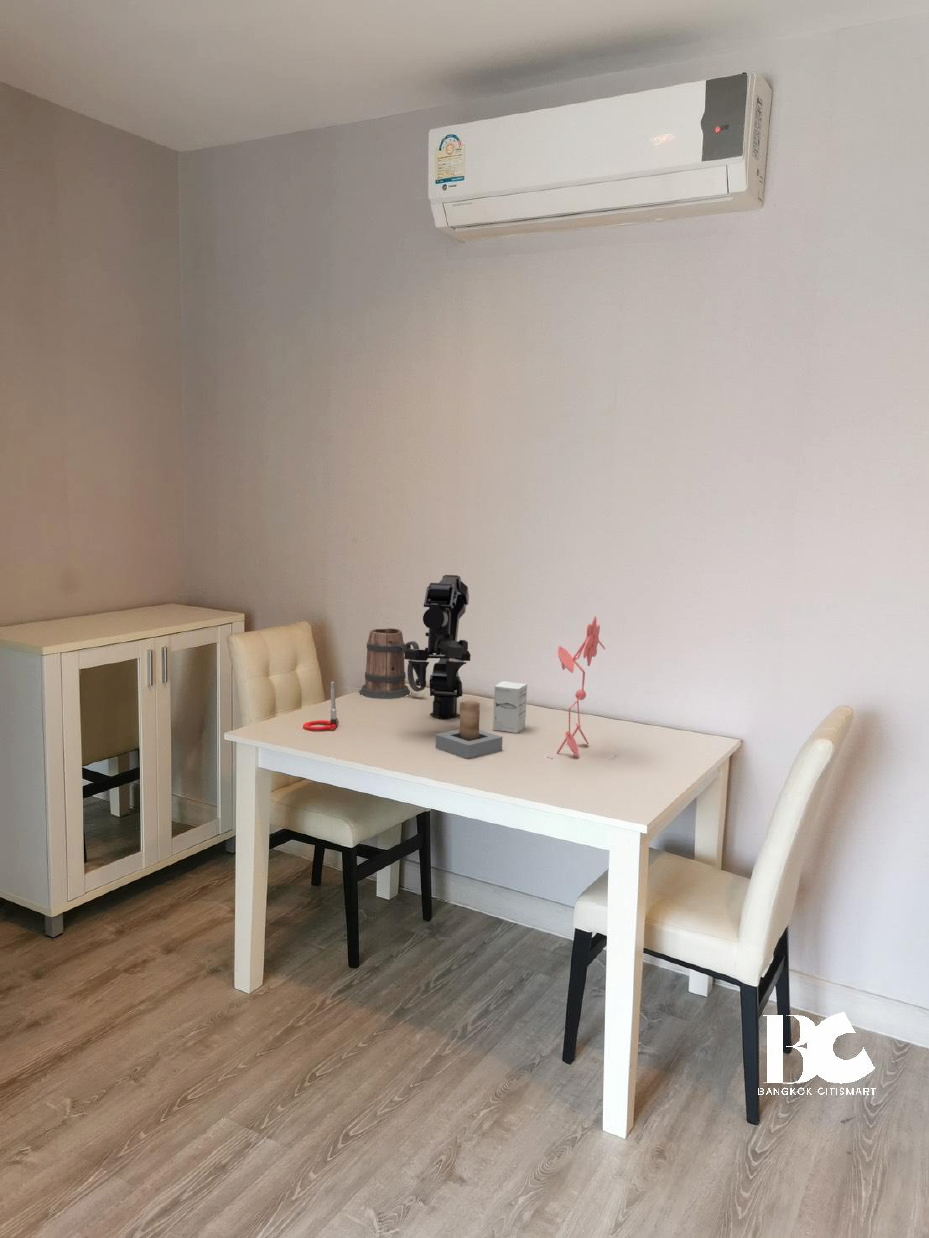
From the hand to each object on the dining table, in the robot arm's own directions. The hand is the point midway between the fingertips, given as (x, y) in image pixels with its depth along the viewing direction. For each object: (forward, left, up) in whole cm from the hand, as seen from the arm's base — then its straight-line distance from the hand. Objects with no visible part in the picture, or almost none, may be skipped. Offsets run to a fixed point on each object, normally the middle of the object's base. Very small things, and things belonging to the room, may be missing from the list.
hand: (436, 687), depth 252 cm
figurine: (-18, +39, -13) cm, 44 cm away
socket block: (+4, +18, -12) cm, 22 cm away
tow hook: (+22, -22, -13) cm, 34 cm away
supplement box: (-18, +11, -13) cm, 24 cm away
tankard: (-18, -40, -13) cm, 46 cm away
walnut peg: (+4, +18, -12) cm, 22 cm away
